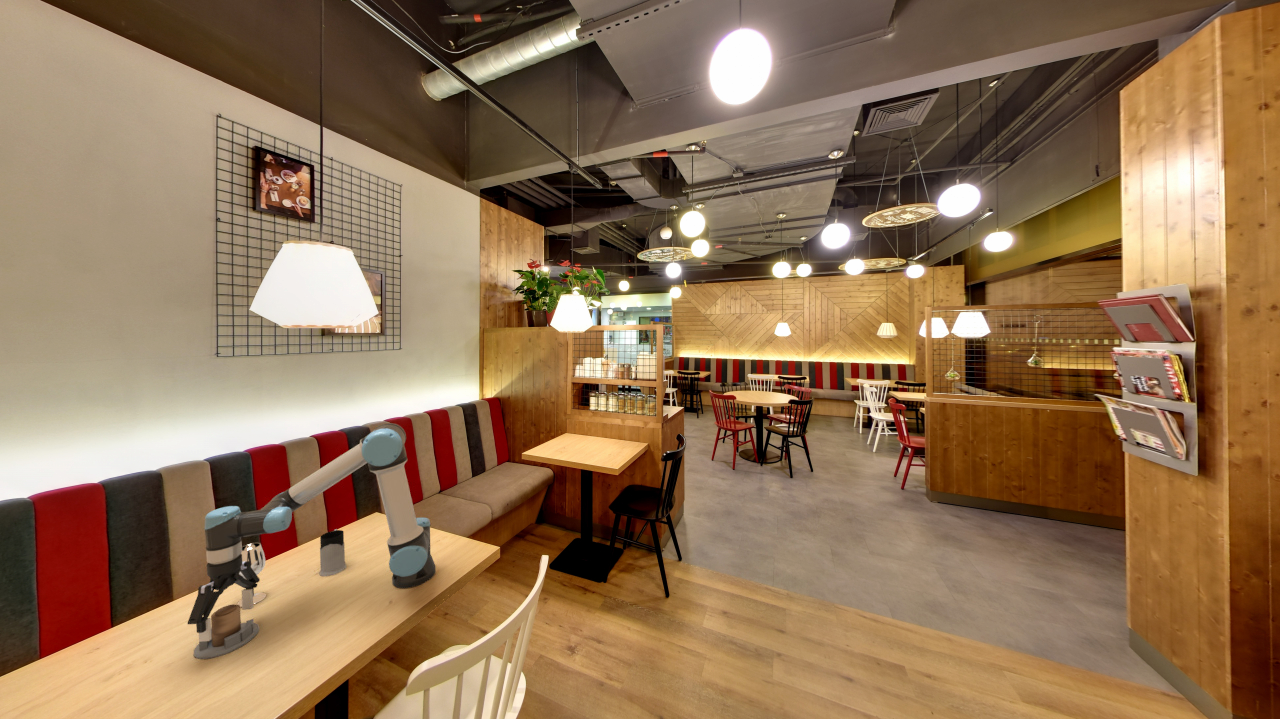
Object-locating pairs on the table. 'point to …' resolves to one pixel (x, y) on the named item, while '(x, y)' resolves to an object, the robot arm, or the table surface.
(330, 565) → the glass holder
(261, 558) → the wineglass
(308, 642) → the table surface
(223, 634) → the stopper
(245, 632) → the grey round base
